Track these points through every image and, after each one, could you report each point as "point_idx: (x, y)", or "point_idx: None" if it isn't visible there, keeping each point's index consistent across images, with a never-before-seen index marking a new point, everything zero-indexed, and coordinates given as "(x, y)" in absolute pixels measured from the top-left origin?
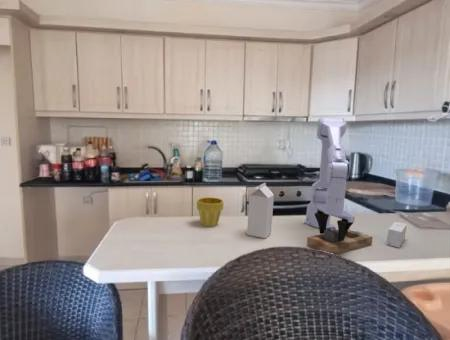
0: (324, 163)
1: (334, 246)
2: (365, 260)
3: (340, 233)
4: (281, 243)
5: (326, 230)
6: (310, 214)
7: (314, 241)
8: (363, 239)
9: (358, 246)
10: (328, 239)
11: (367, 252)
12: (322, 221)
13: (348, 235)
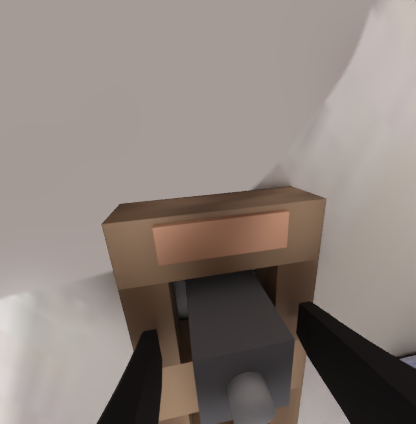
0: None
1: (113, 257)
2: (27, 334)
3: (112, 401)
4: (393, 54)
5: (272, 343)
6: None
7: (259, 202)
8: None
9: None
10: (226, 297)
11: (110, 390)
12: (387, 414)
13: None
